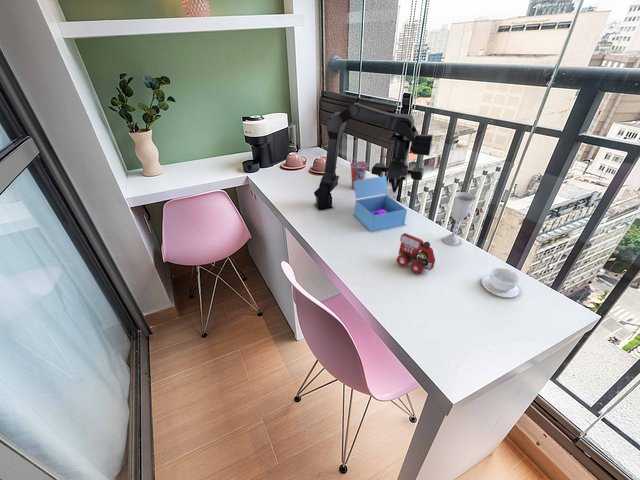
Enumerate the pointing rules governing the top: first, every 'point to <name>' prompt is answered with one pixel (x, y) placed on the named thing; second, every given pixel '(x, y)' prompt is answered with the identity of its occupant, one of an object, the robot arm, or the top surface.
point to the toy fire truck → (415, 254)
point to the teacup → (502, 282)
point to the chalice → (459, 213)
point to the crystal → (380, 212)
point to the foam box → (380, 221)
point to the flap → (370, 187)
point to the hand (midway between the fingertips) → (394, 192)
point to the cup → (358, 171)
